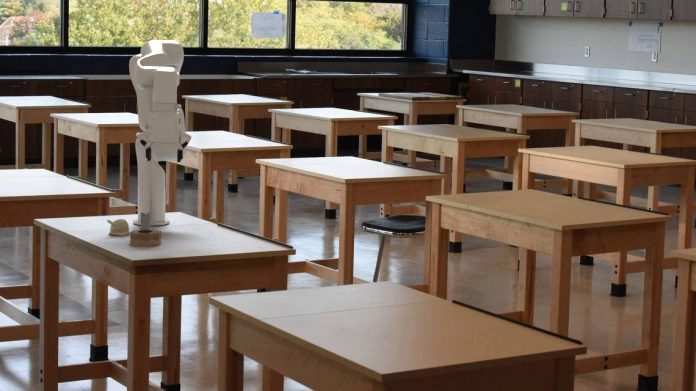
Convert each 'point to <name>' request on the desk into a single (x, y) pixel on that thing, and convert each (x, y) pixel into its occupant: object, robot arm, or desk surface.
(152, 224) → the robot arm
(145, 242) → the bead
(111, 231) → the decorative ornament
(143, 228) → the grey square post
